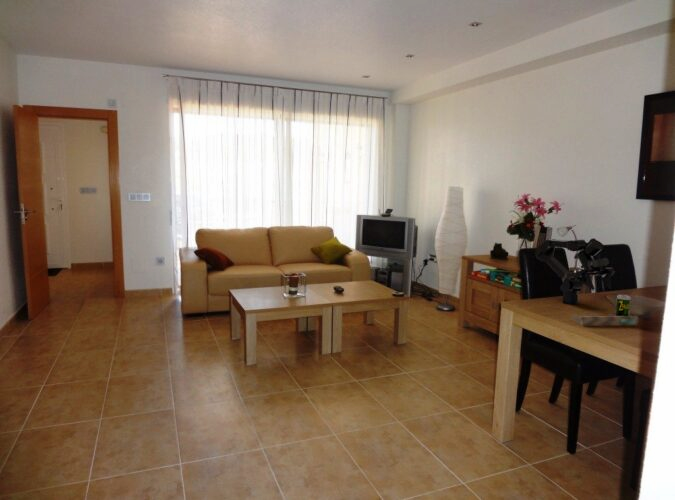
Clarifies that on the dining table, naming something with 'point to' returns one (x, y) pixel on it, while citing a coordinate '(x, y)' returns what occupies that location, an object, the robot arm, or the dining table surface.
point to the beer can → (622, 305)
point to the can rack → (605, 320)
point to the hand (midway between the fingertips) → (602, 289)
